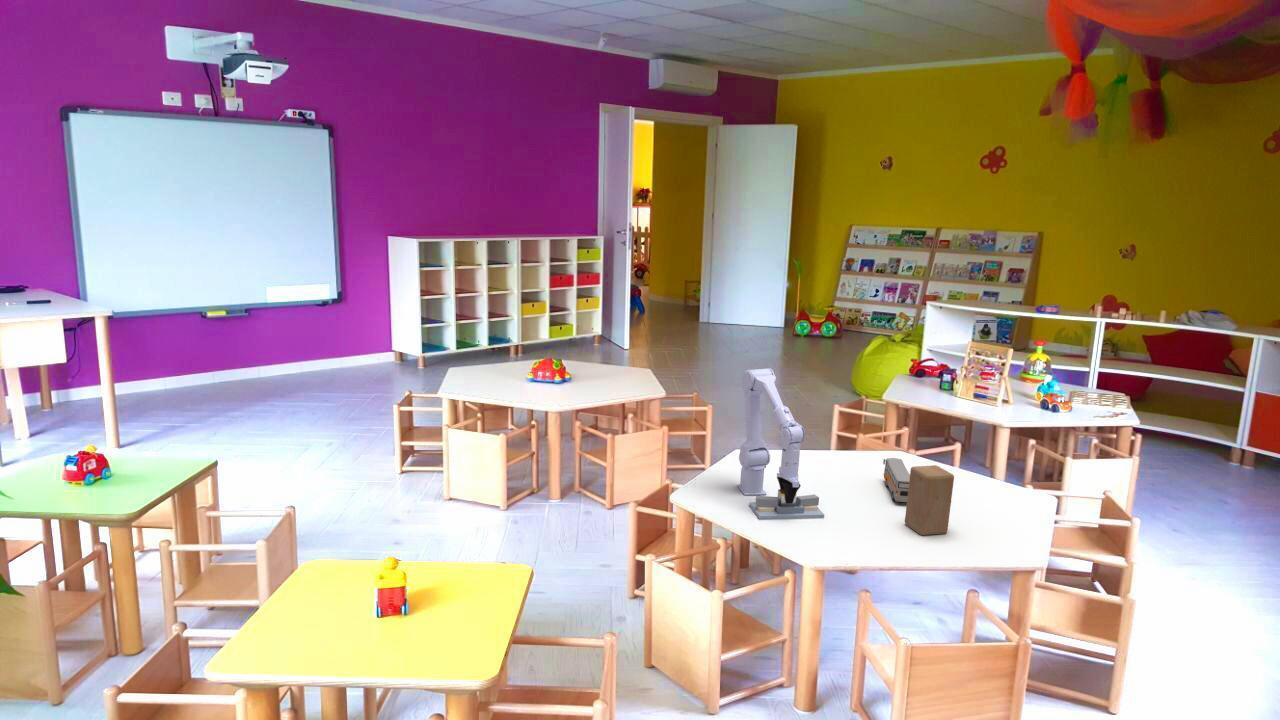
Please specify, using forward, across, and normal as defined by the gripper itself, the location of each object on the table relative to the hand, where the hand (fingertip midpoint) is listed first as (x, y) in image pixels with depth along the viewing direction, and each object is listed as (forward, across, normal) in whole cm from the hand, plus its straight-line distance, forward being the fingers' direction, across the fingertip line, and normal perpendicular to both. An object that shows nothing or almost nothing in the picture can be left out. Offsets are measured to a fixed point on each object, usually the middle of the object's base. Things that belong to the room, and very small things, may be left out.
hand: (786, 500), depth 281 cm
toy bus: (+4, -14, +46) cm, 48 cm away
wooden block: (+4, +17, +41) cm, 45 cm away
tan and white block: (+3, 0, 0) cm, 3 cm away
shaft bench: (+4, 0, 0) cm, 4 cm away
